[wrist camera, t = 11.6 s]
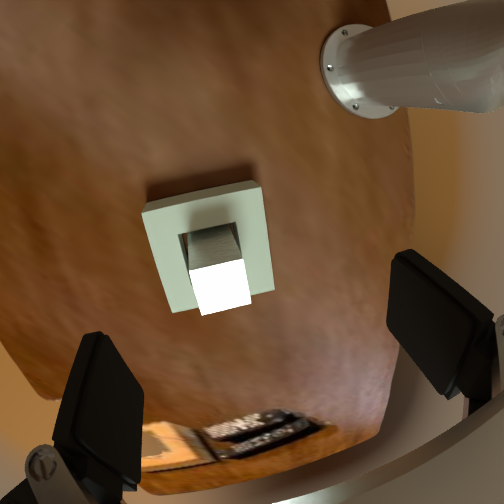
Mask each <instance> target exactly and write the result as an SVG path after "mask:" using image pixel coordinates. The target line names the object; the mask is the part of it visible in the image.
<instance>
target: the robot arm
mask: <svg viewBox="0 0 504 504" xmlns="http://www.w3.org/2000/svg"><path fill="white" fill-rule="evenodd" d="M320 66H321V73H322V76H323V80H324V82H325V84H326V87H327V89H328V91H329V92H330V94H331V95H332V96H333V98H334V99H335V100H336V101H337V102H338V103H339V104H340V106H342V107H343V108H344V109H346V110H347V111H348V112H350V113H352V114H354V115H356V116H360V117H363V118H371V119H373V118H383V117H386V116H388V115H390V114H392V113H394V112H395V111H396V110H397V109H398V108H399V107H415V108H431V109H444V110H454V111H463V112H473V113H488V112H492V111H495V110H497V109H499V108H500V107H502V106H503V105H504V0H468V1H465V2H460V3H456V4H452V5H448V6H443V7H439V8H435V9H431V10H428V11H424V12H421V13H417V14H413V15H410V16H407V17H403V18H400V19H397V20H394V21H391V22H388V23H385V24H382V25H380V26H377V27H374V28H373V27H371V26H367V25H363V24H350V25H345V26H343V27H341V28H339V29H337V30H335V31H334V32H332V33H331V34H330V36H329V37H328V38H327V39H326V41H325V43H324V44H323V47H322V51H321V57H320ZM327 68H328V69H329V70H327ZM353 106H354V108H353ZM493 316H494V314H493V313H492V312H491V311H490V310H489V309H488V308H487V307H485V306H484V305H483V304H482V303H481V302H479V301H478V300H477V299H476V298H475V297H474V296H472V295H471V294H470V293H469V292H467V291H466V290H465V289H464V288H463V287H461V286H460V285H459V284H458V283H456V282H455V281H454V280H453V279H451V278H450V277H449V276H447V275H446V274H445V273H444V272H442V271H441V270H440V269H439V268H437V267H436V266H434V265H433V264H432V263H431V262H429V261H428V260H427V259H425V258H424V257H423V256H421V255H420V254H419V253H417V252H416V251H415V250H413V249H408V250H405V251H402V252H399V253H397V254H396V255H395V257H394V259H393V260H392V262H391V274H390V288H389V299H388V309H387V318H386V323H387V327H388V329H389V331H390V332H391V333H392V334H393V336H394V337H395V338H396V339H397V341H398V342H399V343H400V344H401V345H402V347H403V348H404V349H405V350H406V352H407V353H408V354H409V356H410V357H411V358H412V359H413V361H414V362H415V363H416V365H417V366H418V367H419V368H420V370H421V371H422V372H423V373H424V375H425V376H426V377H427V379H428V380H429V381H430V383H431V384H432V385H433V387H434V388H435V389H436V391H437V392H438V393H439V394H440V395H443V394H444V396H445V397H446V398H447V400H450V399H451V398H453V397H454V396H456V395H457V394H459V393H460V391H461V392H462V394H463V395H464V407H463V417H462V421H461V422H459V423H458V424H456V425H455V426H453V427H452V428H450V429H449V430H447V431H446V432H444V433H442V434H441V435H439V436H438V437H436V438H434V439H433V440H431V441H429V442H428V443H426V444H424V445H423V446H420V447H419V448H417V449H415V450H413V451H411V452H409V453H408V454H406V455H404V456H402V457H400V458H398V459H396V460H394V461H392V462H390V463H388V464H385V465H383V466H381V467H379V468H377V469H375V470H372V471H370V472H368V473H365V474H363V475H361V476H358V477H356V478H353V479H351V480H348V481H345V482H343V483H340V484H337V485H335V486H332V487H329V488H326V489H323V490H320V491H317V492H314V493H310V494H307V495H304V496H300V497H297V498H293V499H289V500H285V501H281V502H277V503H273V504H504V315H501V316H500V317H499V318H498V319H497V321H496V323H494V322H493V321H492V319H493ZM143 408H144V392H143V389H142V387H141V386H140V384H139V383H138V381H137V380H136V378H135V377H134V375H133V374H132V372H131V371H130V369H129V368H128V366H127V365H126V363H125V362H124V360H123V359H122V357H121V355H120V354H119V352H118V351H117V349H116V347H115V346H114V344H113V342H112V341H111V339H110V337H109V336H108V335H104V334H103V333H102V332H100V331H98V332H93V333H88V334H85V335H84V336H83V338H82V340H81V343H80V346H79V348H78V351H77V354H76V357H75V360H74V363H73V366H72V369H71V372H70V375H69V378H68V381H67V384H66V388H65V391H64V394H63V398H62V401H61V405H60V408H59V412H58V416H57V419H56V424H55V427H54V432H53V436H52V440H53V441H54V446H51V445H47V444H44V445H39V446H37V447H36V448H34V449H33V450H32V451H31V452H30V453H29V455H28V456H27V458H26V462H25V473H26V477H27V478H26V479H24V480H23V481H22V482H21V483H20V484H19V485H17V486H16V487H15V488H14V489H13V490H11V491H10V492H9V493H8V494H7V495H5V496H4V497H3V498H2V499H1V500H0V504H127V503H126V502H125V501H124V500H123V499H122V493H123V491H137V484H138V483H140V481H141V447H142V425H143Z"/></svg>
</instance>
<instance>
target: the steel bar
mask: <svg viewBox="0 0 504 504" xmlns="http://www.w3.org/2000/svg"><path fill="white" fill-rule="evenodd" d="M188 256H189V272H190V276H191V279H192V283H193V286H194V290H195V293H196V297H197V300H198V303H199V306H200V310H201V313H202V315H204V314H208V313H212V312H217V311H221V310H225V309H229V308H234V307H238V306H242V305H246V304H250V303H251V299H250V294H249V289H248V283H247V278H246V273H245V267H244V262H243V258H242V256H241V253H240V251H239V248H238V246H237V244H236V241H235V239H234V237H233V234H232V232H231V230H230V227H229V225H228V223H227V224H222V225H218V226H213V227H208V228H204V229H199V230H195V231H190V232H188Z"/></svg>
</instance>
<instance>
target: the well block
mask: <svg viewBox="0 0 504 504" xmlns="http://www.w3.org/2000/svg"><path fill="white" fill-rule="evenodd" d="M141 214H142V217H143V221H144V225H145V228H146V232H147V235H148V239H149V242H150V246H151V249H152V252H153V256H154V259H155V262H156V265H157V268H158V272H159V275H160V278H161V281H162V284H163V287H164V290H165V293H166V296H167V299H168V302H169V305H170V307H171V310H172V313H174V312H179V311H184V310H188V309H193V308H198V307H200V306H199V303H198V300H197V297H196V293H195V290H194V286H193V283H192V279H191V276H190V272H189V262H188V258H187V254H186V250H185V247H184V243H183V239H182V235H181V234H182V233H186V232H190V231H195V230H199V229H204V228H208V227H213V226H218V225H222V224H227V223H232V222H233V227H234V233H235V238H236V244H237V246H238V248H239V251H240V253H241V256H242V258H243V262H244V267H245V273H246V278H247V283H248V289H249V294H250V295H254V294H258V293H263V292H267V291H271V290H275V288H274V281H273V273H272V265H271V257H270V249H269V242H268V234H267V227H266V219H265V212H264V204H263V197H262V190H261V187H260V186H259V185H258V184H257V183H256V182H255V181H253V180H249V181H244V182H238V183H233V184H228V185H223V186H218V187H213V188H209V189H204V190H199V191H195V192H190V193H186V194H181V195H177V196H172V197H168V198H164V199H160V200H156V201H152V202H148V203H146V205H145V207H144V209H143V211H142V213H141Z"/></svg>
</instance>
